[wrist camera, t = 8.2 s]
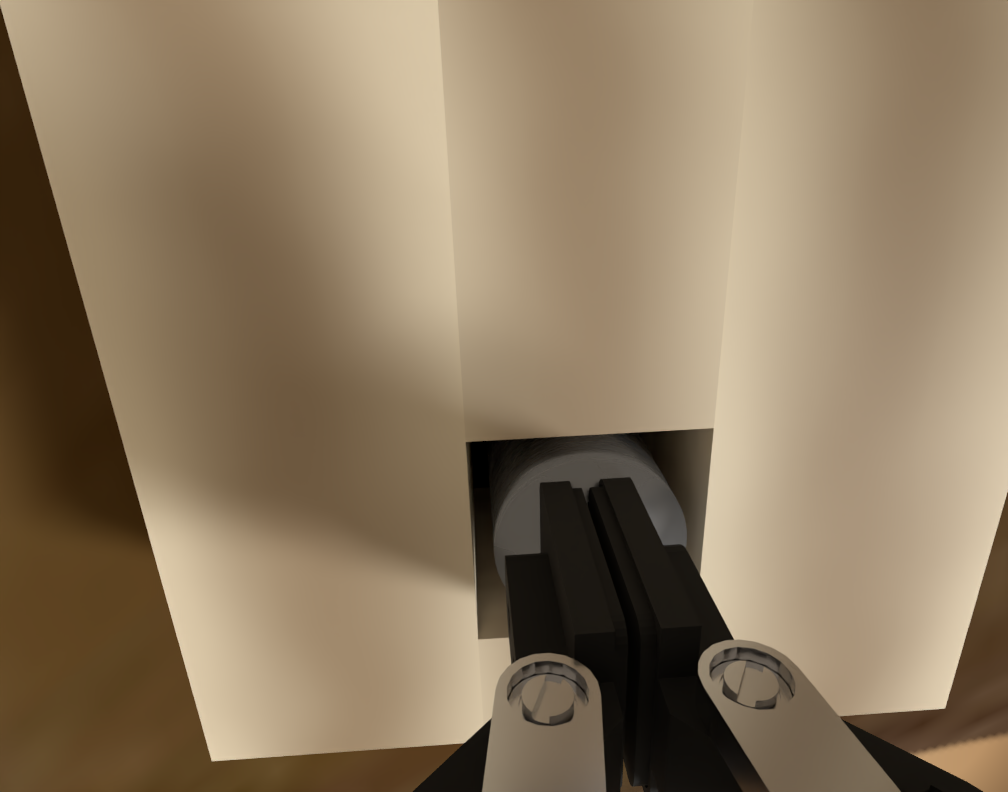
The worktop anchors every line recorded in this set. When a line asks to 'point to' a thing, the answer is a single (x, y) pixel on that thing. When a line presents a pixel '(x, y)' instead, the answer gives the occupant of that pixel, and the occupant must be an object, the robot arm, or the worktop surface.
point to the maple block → (535, 320)
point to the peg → (583, 465)
